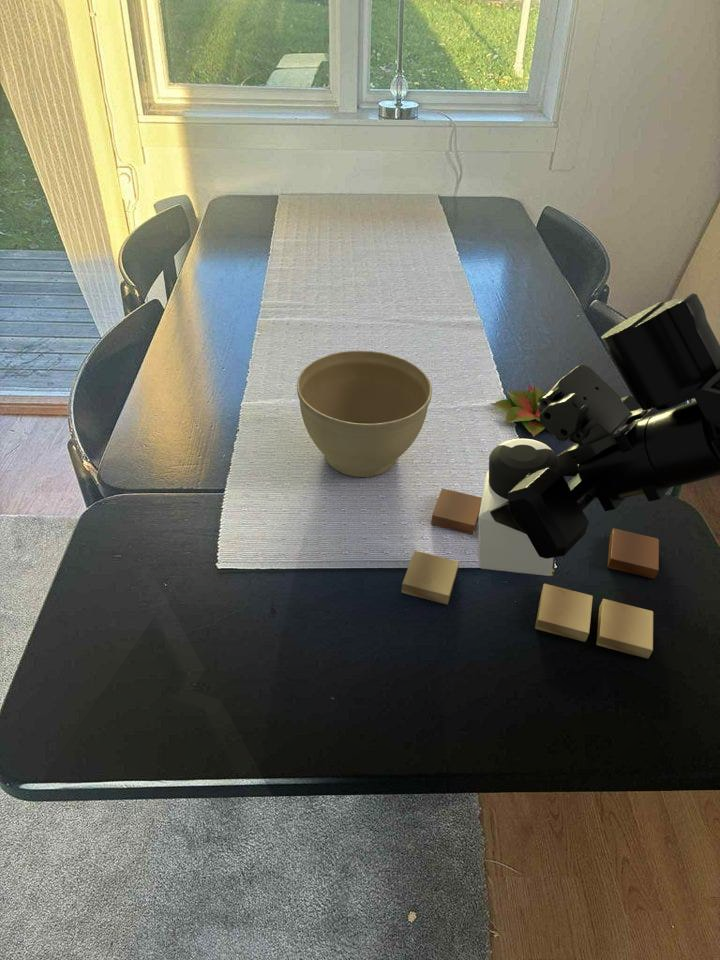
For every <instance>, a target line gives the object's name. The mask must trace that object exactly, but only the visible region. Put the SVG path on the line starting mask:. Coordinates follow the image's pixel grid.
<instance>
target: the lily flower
mask: <svg viewBox="0 0 720 960" xmlns="http://www.w3.org/2000/svg"><path fill="white" fill-rule="evenodd" d="M539 381H540V382H541V379H540V380H539ZM531 384H532V387H531V386H530V385H528V386H527V388H526V389H527V390H526V391H524V390H514V391H511V390H506V392H507V394H508V396H509V398H510V399H508V398H506V399H501V400H497V401H495V402H491V403H489V404H490V405H491V406H494V407H497V408H498V409H500V410H502V411H504V412H507V413H506V416H505V420H504V422H503V424H508V423H513V422H516V423H517V422H521V423H522V425H523V426H524V427H525V429H526V430H527V431H528V432H529V433H531V435H532V437H533V438H534V437H535V436H536V435H538V434H539V433H540V432H542V431H543V430H545V429H547V428H546V427H545V426H544V425H543V424H542V423H541V422H540V418H539V415H540V412H539V410H538V404H539V402H540V400H541V398H543V397H544V396H545V395H547V394H548V392H546V390H547V389H548V388H550V387H551V386H552V385H553V383H550V384H549V385H548V386H547V387H546V389H545V390H544V391H543V390H541V389H540V386H539V388H538V387H537V386H535V383H534V382H533V381H532V382H531Z"/></svg>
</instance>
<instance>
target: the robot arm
mask: <svg viewBox="0 0 720 960" xmlns="http://www.w3.org/2000/svg"><path fill="white" fill-rule="evenodd" d="M600 339H601V340H602V342H603V344H604V346H605V348H606V350H607V351H608V353H609V355H610V357H611V359H612V361H613V362H614V364H615V366H616V368H617V370H618V372H619V374H620V376H621V378H622V380H623V381H624V383H625V385H626V387H627V389H628V391H629V392H630V394H631V395H626V396H624V397H621V396H620V395H619V394H618V393H617V392H616V391H615V390H614V389H613V387H611V386H610V385H609V384H608V383H607V382H606V381H605V380H604V379H603V378H602V377H600V375H599V374H598V373H596V372H595V371H594V370H593V368H591V367H590V366H588V365H585V364H580V365H578V366H576V367H575V368H573V369H572V370H571V371H569V372H568V373H567V374H566V375H564V376H562V378H560V379H559V380H558V381H557V382H556V384H554V386H553V387H552V388H551V389H550V390H549V391H548V392H547V393H548V394H547V393H546V394H547V395H545V396H544V397H543V398H541V400H540V402H539V404H538V410H539V412H540V415H539V418H540V422H541V423H542V424H543V425H544V426H545V427H546V428H545V429H546V430H547V431H549V432H550V433H551V435H553V437H555V439H557V440H558V441H560V442H566V441H567V440H569V442H572V443H574V444H572V445H570V446H569V447H567V448H566V449H564V450H562V452H560V453H558V454H556V456H557V472H556V471H554V470H552V469H550V468H545V469H542V470H539V471H537V472H535V473H533V474H530V473H529V474H528V475H527V476H526V477H525V478H524V479H523V480H521V481H520V482H519V483H518V484H517V485H516V486H515V487H514V488H513V489H512V490H511V491H510V492H509V494H508V501H507V502H505V503H503V504H501V505H499V506H498V507H496V508H494V509H492V510H491V511H490V514H491V516H492V517H493V519H494V521H495V522H497V523H500V524H502V525H505V526H507V527H510V528H512V529H515V530H517V531H520V532H522V533H524V534H527V536H528V538H529V539H530V541H531V543H532V545H533V546H534V548H535V550H536V552H537V553H538V555H539V557H542V558H545V559H548V558H554V557H555V558H560V557H564V556H566V555H567V554H568V552H570V550H572V548H573V547H574V546H575V545H576V544H578V542H579V541H580V540H581V539H582V538H583V537H584V536H585V535H586V532H587V530H588V526H589V523H590V521H589V519H588V517H587V516H586V514H585V512H584V511H585V510H586V508H588V507H589V506H590V505H591V504H592V502H594V500H595V499H598V501H599V503H600V505H601V507H602V508H603V510H604V512H609V511H614V510H617V508H618V507H619V506H620V505H621V504H622V503H623V502H624V501H625V500H626V499H628V498H632V497H635V496H641V495H644V496H645V497H646V499H647V500H648V502H649V503H650V502H654V501H658V500H662V498H663V497H664V496H665V494H666V493H668V491H669V490H670V489H671V488H675V487H679V486H682V485H683V486H684V485H687V484H691V483H695V482H699V481H703V480H704V481H705V480H708V479H712V478H717V477H720V343H719V341H718V339H717V336H716V335H715V333H714V331H713V329H712V327H711V325H710V324H709V321H708V319H707V315H706V311H705V308H704V305H703V303H702V301H701V300H700V297H699V295H698V294H697V293H694V292H692V293H690V294H688V295H685V296H684V297H683V296H682V297H681V298H680V297H677V298H674V299H671V300H668V301H666V302H664V301H659V302H657V303H656V304H653V305H651V306H650V307H647V308H646V309H643V310H642V311H639V312H638V313H636V314H634V315H633V316H630V317H629V318H627V319H625V320H624V321H622V322H620V323H618V324H617V325H615V326H614V327H612V328H610V329H609V330H608V331H606V332H605V333H604V334H602V335H601V337H600ZM693 399H695V400H694V401H690V400H693ZM688 401H690V402H688ZM685 402H687V403H685ZM683 403H685V404H683ZM681 404H682V405H681ZM654 409H656V411H661V412H658V413H656V411H655V410H654ZM662 410H663V411H662ZM565 477H573V478H572V479H571V480H570V481H569V482H568V481H567V480H566V478H565Z"/></svg>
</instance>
